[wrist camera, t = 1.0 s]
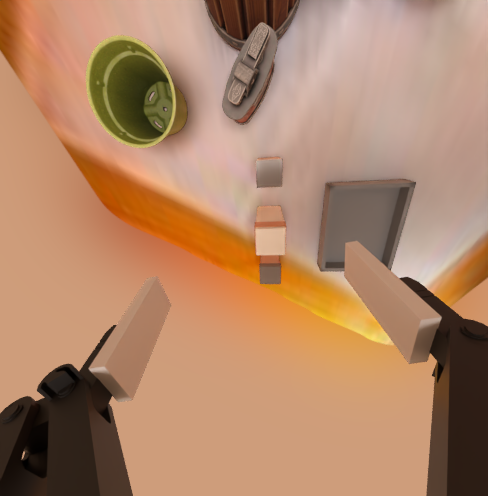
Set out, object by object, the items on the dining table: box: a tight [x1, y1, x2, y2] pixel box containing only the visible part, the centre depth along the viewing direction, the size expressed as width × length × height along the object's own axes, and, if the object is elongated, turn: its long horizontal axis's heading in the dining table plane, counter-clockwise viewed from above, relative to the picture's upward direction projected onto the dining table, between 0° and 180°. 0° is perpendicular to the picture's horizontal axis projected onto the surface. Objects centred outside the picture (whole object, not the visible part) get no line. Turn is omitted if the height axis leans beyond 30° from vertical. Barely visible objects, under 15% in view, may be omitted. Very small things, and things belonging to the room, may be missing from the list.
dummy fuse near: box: [256, 157, 283, 188], centre depth 29 cm, size 3×3×6 cm
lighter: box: [222, 23, 278, 125], centre depth 23 cm, size 8×3×10 cm, turn 150°
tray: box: [317, 179, 416, 271], centre depth 33 cm, size 11×14×3 cm
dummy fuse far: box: [260, 255, 281, 284], centre depth 35 cm, size 3×3×6 cm
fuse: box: [255, 206, 286, 255], centre depth 30 cm, size 4×4×10 cm
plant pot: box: [86, 35, 187, 148], centre depth 25 cm, size 9×9×9 cm
